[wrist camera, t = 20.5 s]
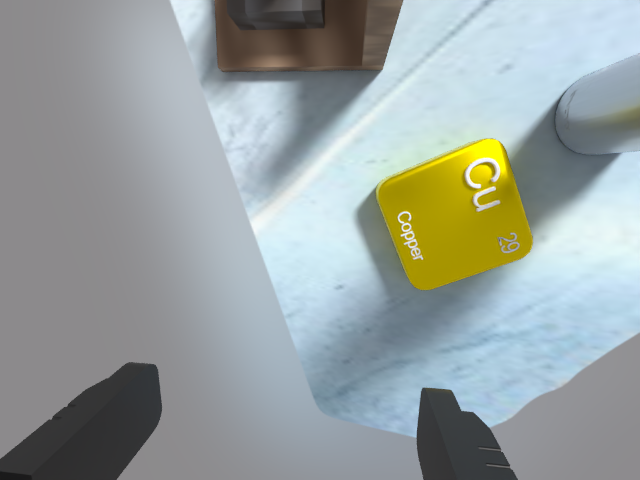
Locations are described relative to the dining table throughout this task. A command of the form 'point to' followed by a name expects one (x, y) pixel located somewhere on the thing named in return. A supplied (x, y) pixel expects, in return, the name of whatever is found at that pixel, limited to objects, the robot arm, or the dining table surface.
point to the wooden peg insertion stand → (304, 34)
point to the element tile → (455, 214)
